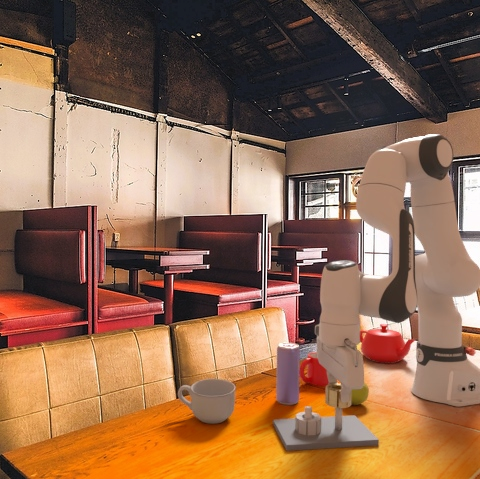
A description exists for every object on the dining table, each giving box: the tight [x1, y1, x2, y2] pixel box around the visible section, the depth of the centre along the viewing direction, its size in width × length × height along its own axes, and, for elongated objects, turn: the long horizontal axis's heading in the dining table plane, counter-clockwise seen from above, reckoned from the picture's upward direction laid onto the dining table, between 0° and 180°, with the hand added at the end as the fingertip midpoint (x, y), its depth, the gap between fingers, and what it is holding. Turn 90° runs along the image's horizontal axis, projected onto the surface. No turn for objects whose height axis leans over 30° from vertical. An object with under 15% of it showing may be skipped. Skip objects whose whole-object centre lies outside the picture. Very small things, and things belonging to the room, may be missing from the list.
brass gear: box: [324, 382, 352, 409], centre depth 106 cm, size 5×5×4 cm
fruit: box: [351, 381, 369, 406], centre depth 123 cm, size 7×7×12 cm
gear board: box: [272, 405, 380, 452], centre depth 105 cm, size 20×13×6 cm, turn 98°
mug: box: [299, 351, 329, 387], centre depth 141 cm, size 8×12×8 cm, turn 125°
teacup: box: [177, 378, 237, 425], centre depth 114 cm, size 14×11×8 cm
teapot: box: [360, 323, 417, 364], centre depth 166 cm, size 25×16×12 cm, turn 32°
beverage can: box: [275, 342, 301, 406], centre depth 125 cm, size 6×6×15 cm
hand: (338, 395), depth 106 cm, fingers closed on brass gear, 5 cm apart
